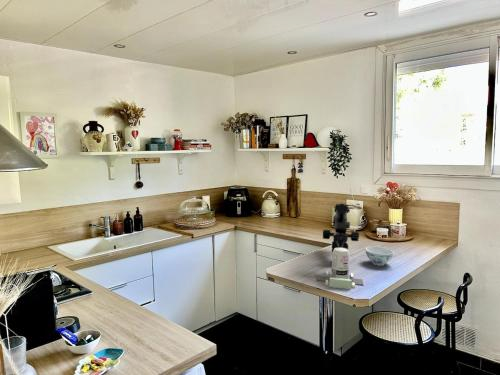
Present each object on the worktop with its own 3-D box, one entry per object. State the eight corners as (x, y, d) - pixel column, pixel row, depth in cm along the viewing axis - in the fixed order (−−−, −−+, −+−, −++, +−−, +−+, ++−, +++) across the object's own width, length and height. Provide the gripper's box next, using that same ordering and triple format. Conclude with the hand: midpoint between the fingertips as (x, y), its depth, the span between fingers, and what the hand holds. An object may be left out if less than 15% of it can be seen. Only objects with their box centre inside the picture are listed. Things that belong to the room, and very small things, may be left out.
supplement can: (335, 274, 192) (337, 246, 190) (350, 278, 187) (352, 249, 185) (328, 278, 186) (329, 249, 184) (343, 282, 181) (345, 253, 179)
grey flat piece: (317, 272, 195) (318, 264, 194) (361, 276, 190) (361, 268, 190) (316, 285, 177) (316, 277, 176) (364, 290, 172) (365, 282, 172)
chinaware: (359, 262, 211) (360, 249, 210) (373, 257, 221) (374, 245, 220) (383, 270, 200) (384, 256, 199) (397, 264, 209) (398, 251, 208)
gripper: (323, 214, 199) (322, 240, 190) (359, 217, 195) (360, 243, 186) (323, 225, 208) (322, 250, 198) (358, 228, 204) (358, 253, 195)
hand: (340, 249), depth 194 cm, fingers closed
